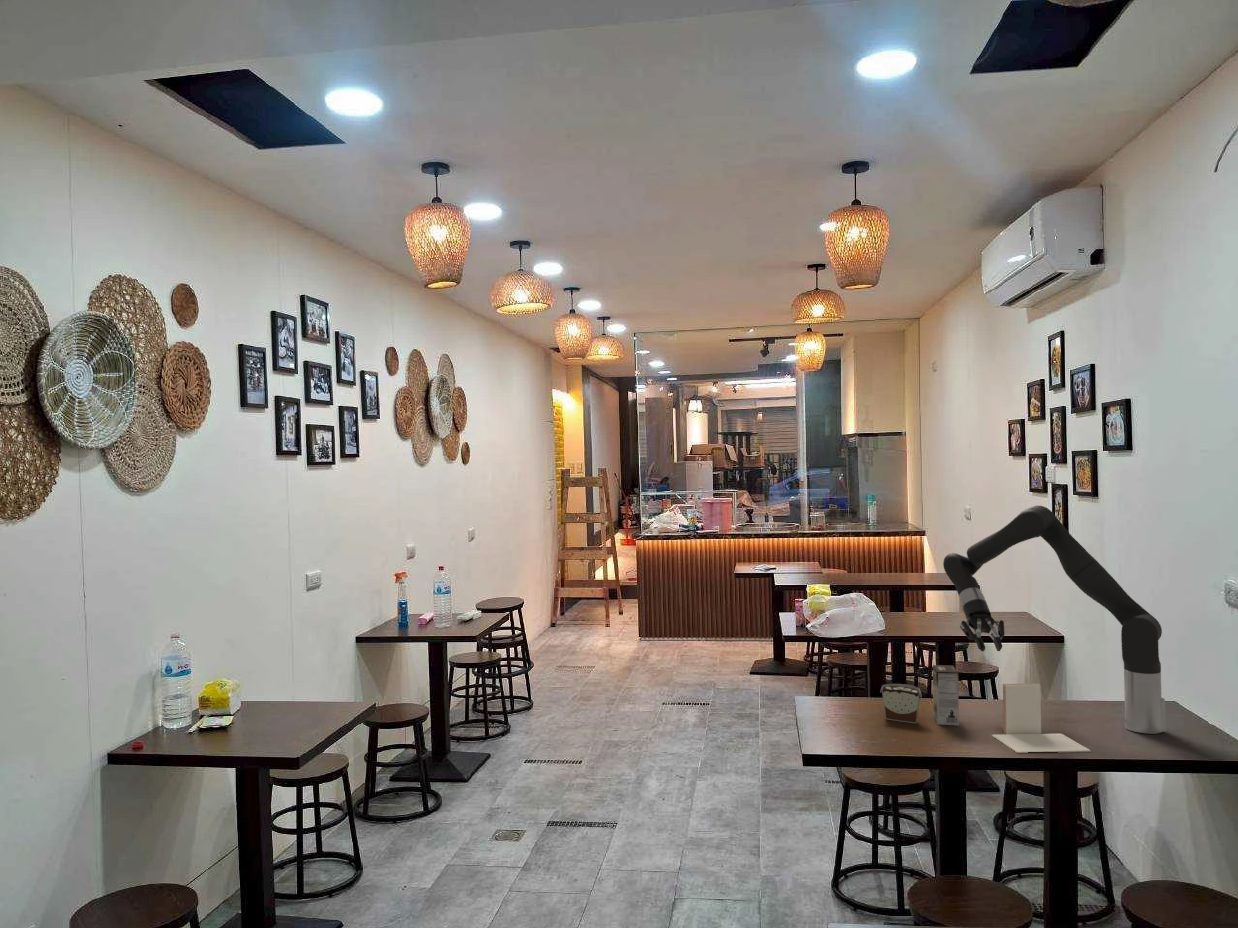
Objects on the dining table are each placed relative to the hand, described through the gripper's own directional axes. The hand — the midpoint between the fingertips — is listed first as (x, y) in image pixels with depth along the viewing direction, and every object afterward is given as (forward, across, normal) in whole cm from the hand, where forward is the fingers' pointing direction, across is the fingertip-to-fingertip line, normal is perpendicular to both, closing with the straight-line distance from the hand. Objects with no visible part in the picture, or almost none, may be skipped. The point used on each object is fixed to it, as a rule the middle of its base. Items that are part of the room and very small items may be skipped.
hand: (991, 649), depth 267 cm
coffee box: (+19, -17, +10) cm, 27 cm away
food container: (+17, -29, +12) cm, 36 cm away
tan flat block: (+28, 0, +1) cm, 28 cm away
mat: (+35, 0, -6) cm, 35 cm away
